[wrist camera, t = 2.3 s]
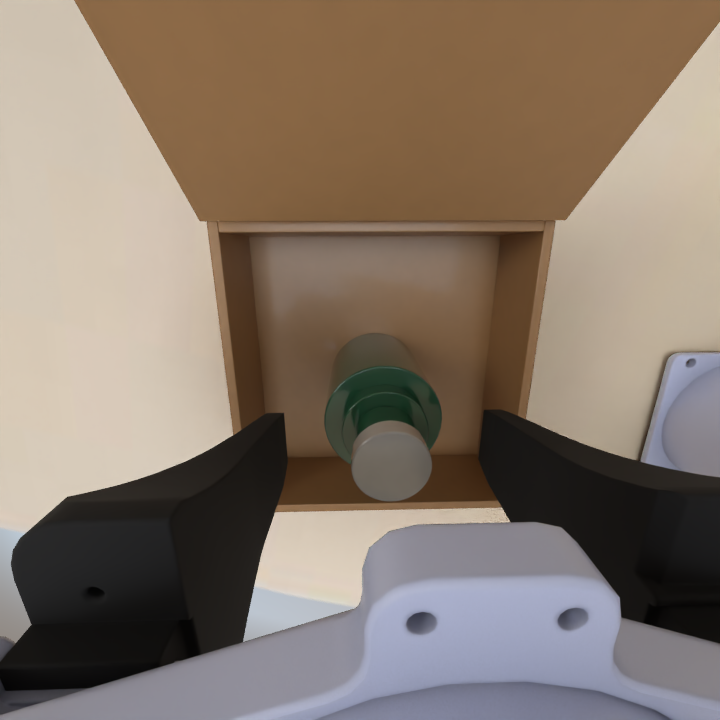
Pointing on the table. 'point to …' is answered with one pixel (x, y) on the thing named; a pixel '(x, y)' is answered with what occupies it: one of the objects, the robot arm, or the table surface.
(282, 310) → the carton
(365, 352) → the bottle
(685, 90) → the table surface
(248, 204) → the flap
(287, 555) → the table surface
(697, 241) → the table surface
